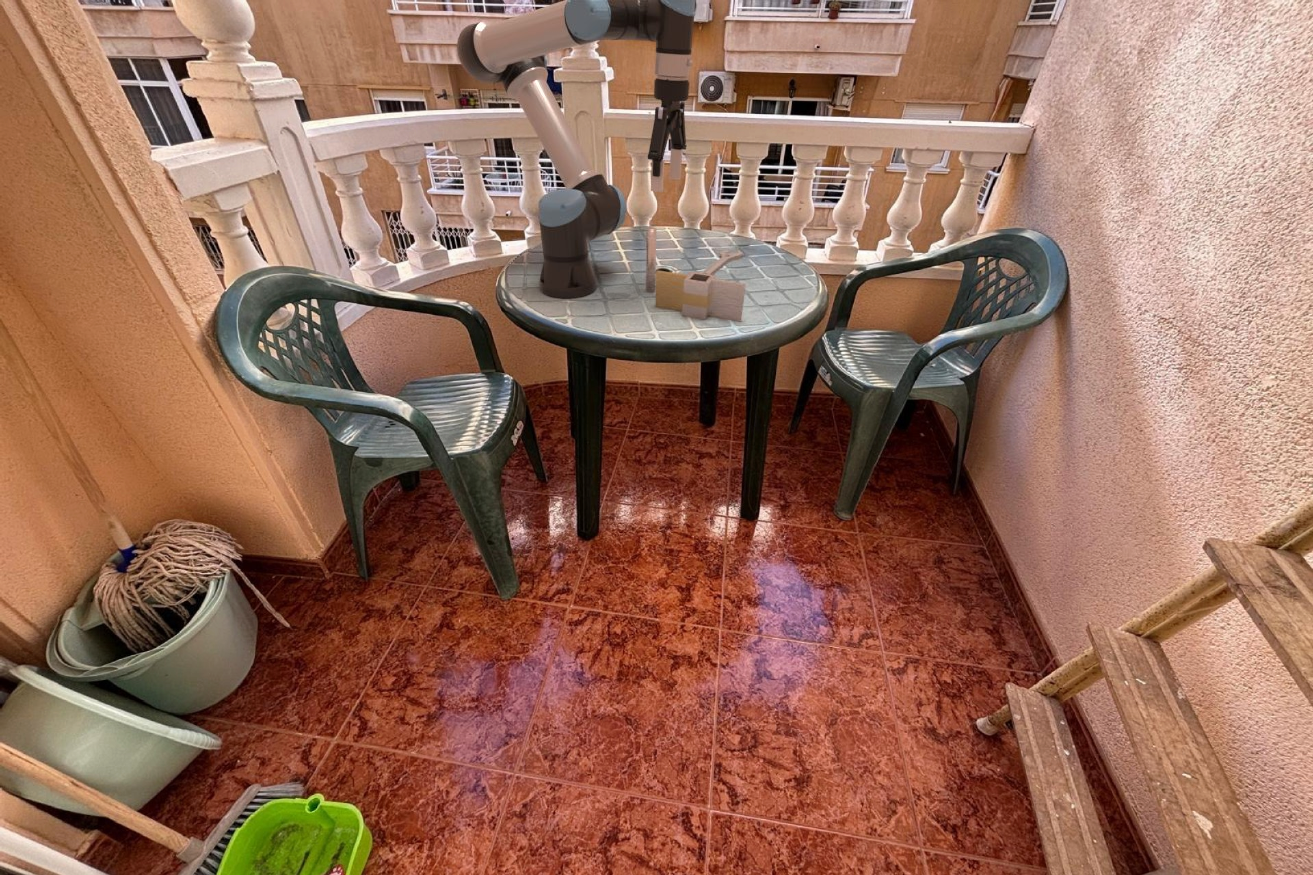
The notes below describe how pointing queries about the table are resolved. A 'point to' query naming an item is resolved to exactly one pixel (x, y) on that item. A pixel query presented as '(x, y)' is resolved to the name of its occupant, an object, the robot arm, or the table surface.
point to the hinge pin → (650, 259)
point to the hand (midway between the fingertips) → (666, 185)
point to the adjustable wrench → (722, 261)
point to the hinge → (699, 295)
